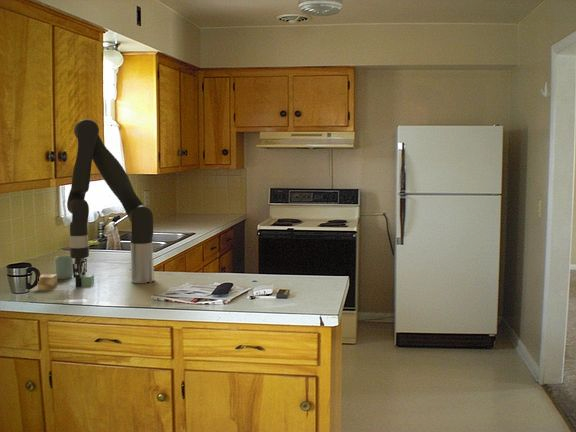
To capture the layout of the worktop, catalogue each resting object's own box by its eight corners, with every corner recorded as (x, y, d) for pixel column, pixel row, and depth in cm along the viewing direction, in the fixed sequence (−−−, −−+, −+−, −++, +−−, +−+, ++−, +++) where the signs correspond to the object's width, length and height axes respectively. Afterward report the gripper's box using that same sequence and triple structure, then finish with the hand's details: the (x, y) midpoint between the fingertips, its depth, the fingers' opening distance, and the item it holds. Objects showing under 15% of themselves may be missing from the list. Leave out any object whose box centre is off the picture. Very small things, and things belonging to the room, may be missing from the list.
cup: (54, 282, 292) (53, 259, 291) (55, 278, 300) (54, 256, 299) (73, 281, 295) (72, 258, 293) (74, 277, 302) (73, 255, 301)
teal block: (94, 286, 285) (93, 274, 284) (91, 288, 280) (91, 276, 279) (82, 286, 284) (81, 274, 284) (79, 288, 279) (78, 277, 279)
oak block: (57, 286, 279) (57, 274, 279) (53, 289, 273) (52, 277, 273) (42, 286, 279) (42, 274, 278) (38, 289, 273) (37, 277, 273)
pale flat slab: (75, 287, 282) (75, 284, 282) (69, 292, 272) (69, 290, 272) (37, 287, 281) (36, 285, 281) (29, 293, 271) (29, 290, 271)
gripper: (84, 248, 273) (85, 289, 275) (92, 243, 287) (93, 281, 289) (65, 248, 273) (66, 289, 275) (74, 243, 287) (76, 282, 289)
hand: (80, 285), depth 282 cm, fingers open, 6 cm apart
